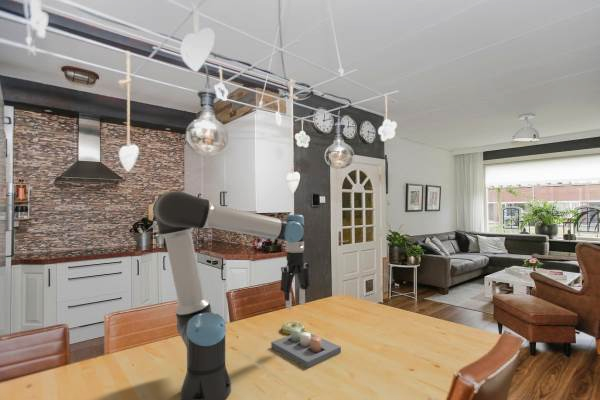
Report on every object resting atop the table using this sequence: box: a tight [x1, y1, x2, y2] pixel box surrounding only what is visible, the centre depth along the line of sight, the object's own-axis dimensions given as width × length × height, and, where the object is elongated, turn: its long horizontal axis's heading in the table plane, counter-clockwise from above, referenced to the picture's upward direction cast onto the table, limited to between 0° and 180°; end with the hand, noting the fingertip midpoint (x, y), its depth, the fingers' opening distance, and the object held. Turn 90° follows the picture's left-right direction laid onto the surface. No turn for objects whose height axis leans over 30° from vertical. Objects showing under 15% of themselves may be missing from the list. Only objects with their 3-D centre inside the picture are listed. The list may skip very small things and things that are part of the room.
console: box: [271, 329, 342, 369], centre depth 125 cm, size 18×22×3 cm
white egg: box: [300, 331, 312, 347], centre depth 125 cm, size 4×4×4 cm
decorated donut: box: [281, 321, 306, 336], centre depth 145 cm, size 10×11×4 cm
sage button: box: [291, 328, 301, 342], centre depth 130 cm, size 4×4×4 cm
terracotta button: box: [310, 336, 322, 352], centre depth 121 cm, size 4×4×4 cm
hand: (295, 305), depth 130 cm, fingers open, 7 cm apart
